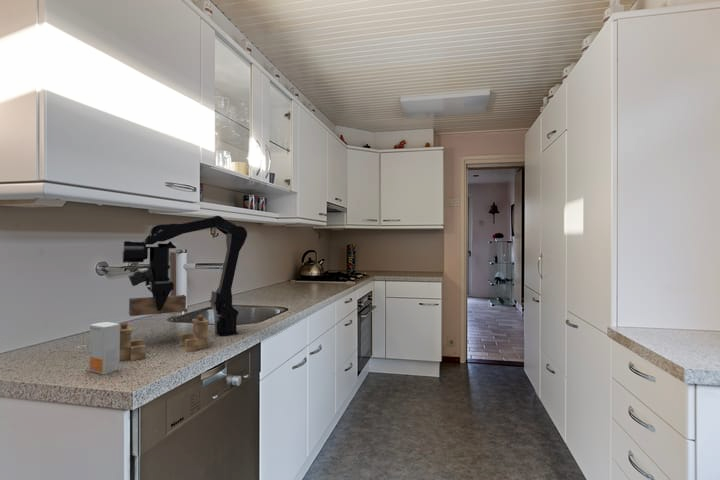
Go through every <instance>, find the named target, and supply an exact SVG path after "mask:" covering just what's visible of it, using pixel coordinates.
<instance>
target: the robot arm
mask: <svg viewBox="0 0 720 480" xmlns="http://www.w3.org/2000/svg"><path fill="white" fill-rule="evenodd" d="M211 228H216V230H218V231H219V232H220V233H222V234H224V236H226V237H225V243H226V253H225V257H224V262H223V267H222V271H221V276H220V280H219V284H218V285H219V286H218V288H217V290H215V291H214V290H212V291H211V296H210V300H209V301H208V302H209V303H210V307H211V309H212V310H213V311H215V313H216V315H217V316H216V320H215V321H214V333H215V334H216V335H218V336H220V337H222V336H230V335H231V336H232V335H237V334H238V333H239V331H237V321H238V319H237V317H238V315H239V311H238V310H237V309H236V308H235V307H234V306H233V293H232V287H233V282H234V279H235V273H236V269H237V264H238V259H239V256H240V255H239V254H240V252H241V249H242V247H244V245H245V243H246V240H247V238H248V231H247V229H246V228H245V227H244V226H241V225H237V224H235V223H232V222H230V221H229V220H227V219H225V218H223V217H222V216H221V215H214V216H210V217H207V218H202V219H197V220H192V221H186V222H182V223H158V224H155V225H152V226H151V227H150V228H149V231H148V233H149V234H148V236H147V237H146V238H145V239H144V240H143V241H129V240H126V241H125V240H124V241H123V251H122V259H121V260H122V263H124V264H125V263H144V262H145V260H148V258H149V263H148V266H147V268H146V270H142V271H140V270H138V271H135V272H133V274H130V275H128V280H129V282H130V284H131V286H132V287H135V286H138V285H139V284H141V283H144V285H145V286H146V288H147V290H148V291H149V292H150V293H152V297H155V300H156V306H157V310H158V311H161V310H162V308H163V306H164V303H165V301H166V299H167V297H168V296H170V293H171V292H172V291H173V290H174V289H175V283H173V282H172V281H171V278H170V275H169V274H170V269H171V265H170V249H177V247H176V245H174V244H173V243H172V241H169V240H171V239H174V238H176V237H178V236H181V235H183V234H189V233H193V232H197V231H203V230H206V229H211ZM166 241H168V242H167V243H161V242H166ZM158 242H160V243H158ZM154 244H157V245H156V246H151V245H154ZM147 245H150V246H147ZM148 250H149V252H148Z"/></svg>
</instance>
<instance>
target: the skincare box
mask: <svg viewBox="0 0 720 480" xmlns="http://www.w3.org/2000/svg"><path fill="white" fill-rule="evenodd" d="M120 325H121V323H116V322H109V321H103V322H98V323H92V324H90V325H89V346H88V348H89V349H88V350H89V353H88V354H89V356H88V371H89V372H93V373H97V374H101V375H107V374H110V373H113V372H117V371H120V361H119V357H120Z"/></svg>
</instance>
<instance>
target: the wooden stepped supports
mask: <svg viewBox="0 0 720 480" xmlns="http://www.w3.org/2000/svg"><path fill="white" fill-rule="evenodd" d="M191 322H192V326H193V327H192V328H193V329H192V332H189V333H188V332H187V333H182V334H180V337H179V346H180V347H184V352H185V353H188V352H189V353H191V352H195V351H199V350H201V349H206V348H208V328H209V327H208V325H209V324H210V321H209V320H207V319H206V318H205V317H204V315H203V314H198V315H197V317H196V318H192V319H191ZM132 333H133V328H132V326H131V325H129V324H128V322H127V321H123V322H121V323H120V357H119V362H120V361H126V360H130V361H135V360H143V359H146V344H143V343H144V342H143V341H144V340H143V339H142V338H139V339H133V340H132Z"/></svg>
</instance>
